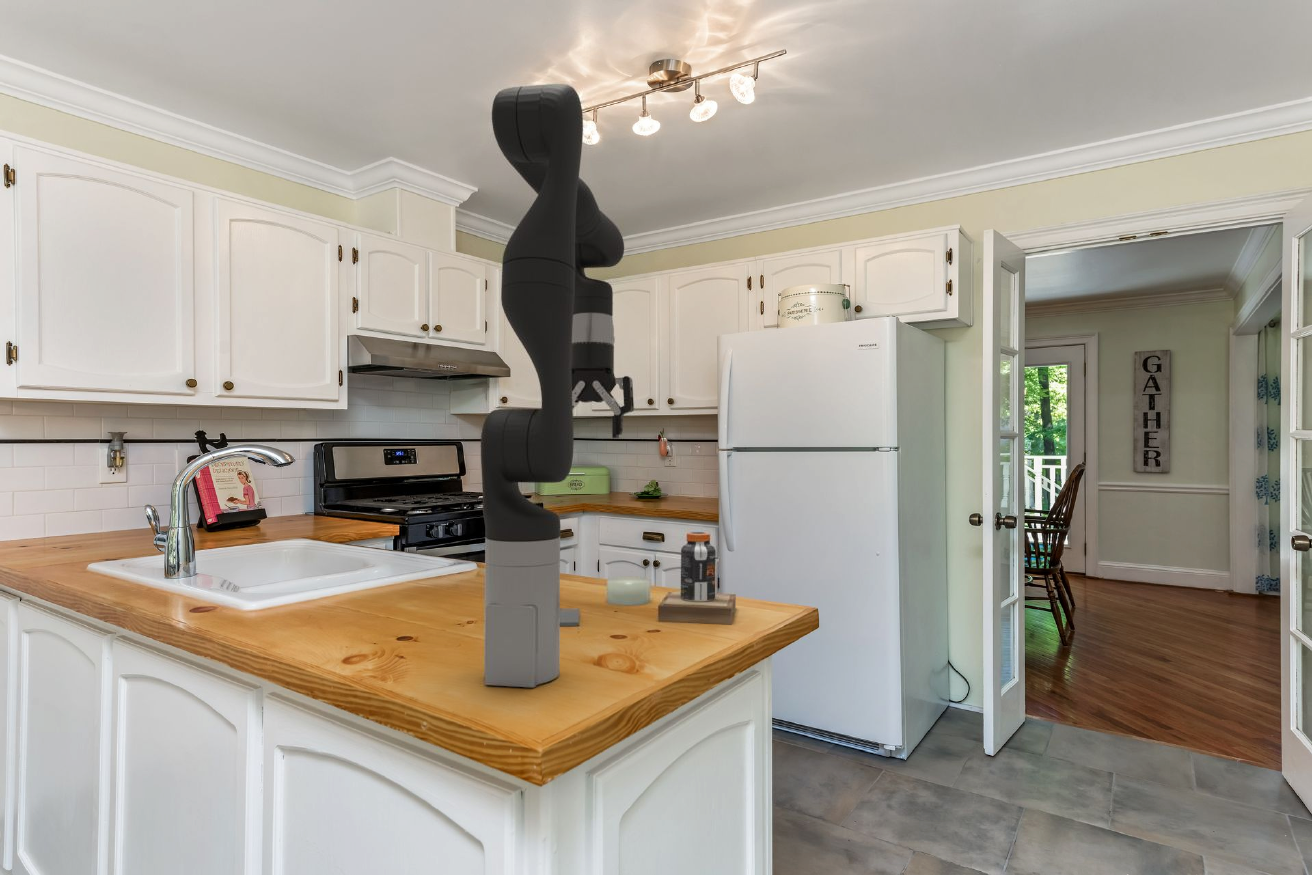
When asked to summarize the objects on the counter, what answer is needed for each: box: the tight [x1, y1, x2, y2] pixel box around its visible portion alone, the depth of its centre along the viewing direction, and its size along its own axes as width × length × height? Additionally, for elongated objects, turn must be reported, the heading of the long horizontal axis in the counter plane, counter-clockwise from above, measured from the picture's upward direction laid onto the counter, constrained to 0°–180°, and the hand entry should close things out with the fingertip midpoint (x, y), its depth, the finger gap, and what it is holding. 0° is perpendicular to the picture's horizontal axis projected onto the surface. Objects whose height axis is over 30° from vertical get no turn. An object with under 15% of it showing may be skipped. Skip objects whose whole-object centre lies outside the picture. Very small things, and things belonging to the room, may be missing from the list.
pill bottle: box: [680, 531, 717, 602], centre depth 127 cm, size 6×6×11 cm
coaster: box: [560, 608, 580, 627], centre depth 123 cm, size 10×10×1 cm
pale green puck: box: [606, 576, 651, 607], centre depth 138 cm, size 8×8×4 cm
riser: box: [657, 591, 737, 625], centre depth 127 cm, size 12×12×3 cm
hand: (591, 438), depth 127 cm, fingers open, 8 cm apart
